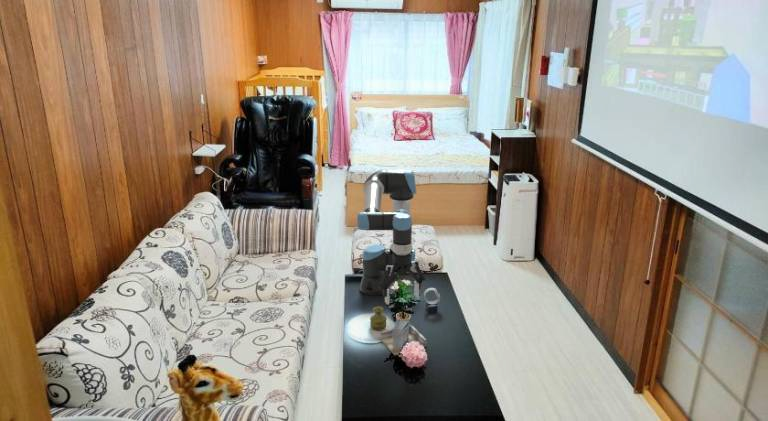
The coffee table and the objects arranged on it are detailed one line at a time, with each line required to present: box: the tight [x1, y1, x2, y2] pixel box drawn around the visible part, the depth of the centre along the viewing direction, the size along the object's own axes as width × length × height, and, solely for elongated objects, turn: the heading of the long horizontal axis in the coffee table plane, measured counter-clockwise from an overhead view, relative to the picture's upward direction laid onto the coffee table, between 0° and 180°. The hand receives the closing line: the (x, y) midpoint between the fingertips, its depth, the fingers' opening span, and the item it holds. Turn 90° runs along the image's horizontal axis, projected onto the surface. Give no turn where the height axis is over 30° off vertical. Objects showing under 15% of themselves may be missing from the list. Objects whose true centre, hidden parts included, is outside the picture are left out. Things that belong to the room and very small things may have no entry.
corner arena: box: [379, 324, 428, 356], centre depth 223 cm, size 14×15×4 cm
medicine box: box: [392, 320, 410, 348], centre depth 221 cm, size 8×4×9 cm, turn 157°
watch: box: [423, 287, 441, 314], centre depth 251 cm, size 6×8×11 cm
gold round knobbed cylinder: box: [369, 305, 388, 332], centre depth 235 cm, size 7×7×10 cm
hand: (401, 299), depth 217 cm, fingers open, 13 cm apart
